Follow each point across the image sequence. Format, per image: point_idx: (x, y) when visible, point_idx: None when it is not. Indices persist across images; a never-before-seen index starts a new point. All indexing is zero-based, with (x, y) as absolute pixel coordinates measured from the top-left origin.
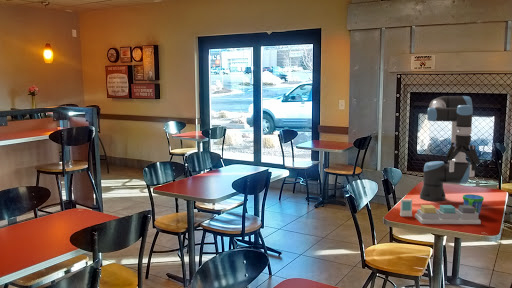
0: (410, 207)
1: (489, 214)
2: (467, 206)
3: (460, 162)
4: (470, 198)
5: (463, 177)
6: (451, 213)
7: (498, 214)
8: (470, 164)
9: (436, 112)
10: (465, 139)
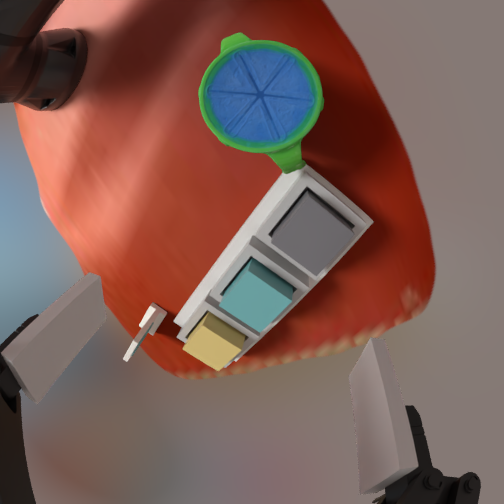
0: (149, 329)
1: (314, 50)
2: (313, 233)
3: None
4: (277, 148)
5: None
6: (287, 306)
7: (336, 26)
8: (367, 493)
9: None
10: None
